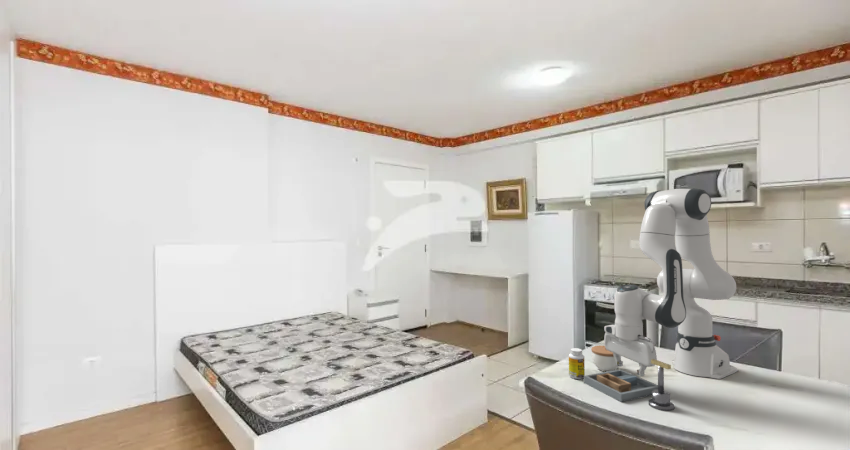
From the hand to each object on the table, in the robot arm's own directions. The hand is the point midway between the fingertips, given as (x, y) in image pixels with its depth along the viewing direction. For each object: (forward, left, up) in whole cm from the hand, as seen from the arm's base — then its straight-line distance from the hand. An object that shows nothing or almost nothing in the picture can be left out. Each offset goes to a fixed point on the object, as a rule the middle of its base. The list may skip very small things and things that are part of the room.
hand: (629, 370), depth 144 cm
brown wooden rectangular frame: (+5, +1, -5) cm, 7 cm away
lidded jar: (-4, -15, -6) cm, 17 cm away
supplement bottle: (+12, -13, -6) cm, 19 cm away
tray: (+5, +1, -5) cm, 7 cm away
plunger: (+4, +16, -5) cm, 17 cm away
